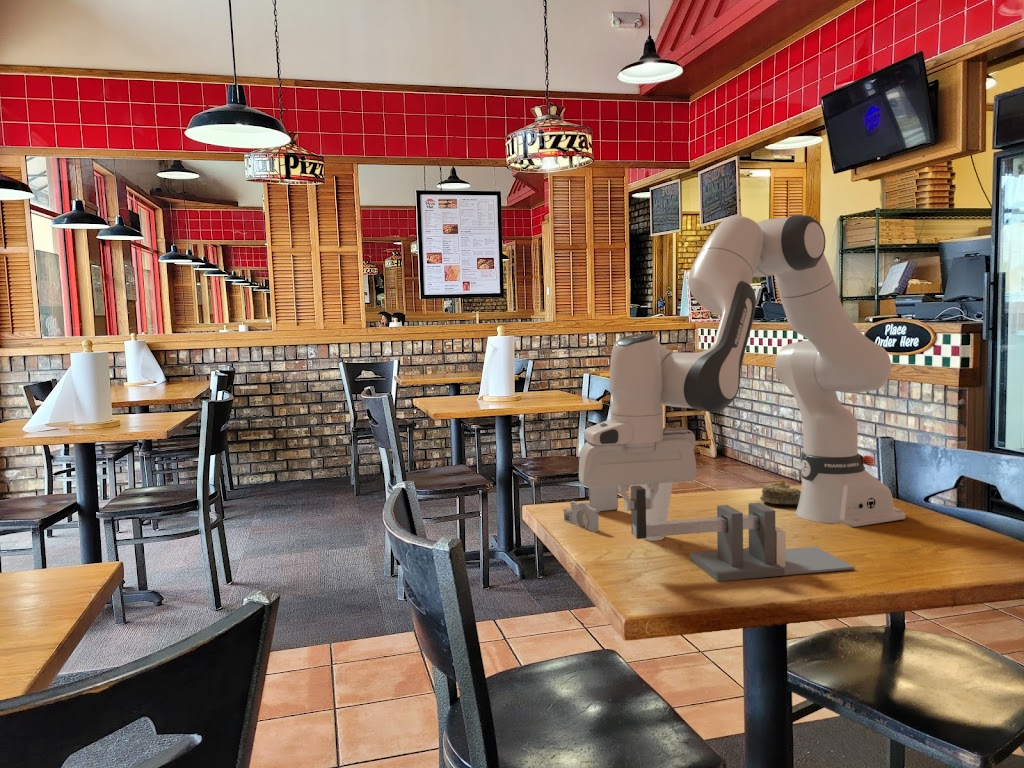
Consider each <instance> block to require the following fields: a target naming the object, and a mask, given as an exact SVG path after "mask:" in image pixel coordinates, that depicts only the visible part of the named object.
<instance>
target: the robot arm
mask: <svg viewBox="0 0 1024 768" xmlns="http://www.w3.org/2000/svg"><path fill="white" fill-rule="evenodd" d="M825 249H826V235H825V231H824V229H823V226H822V225H821V223H819V221H817V219H815V218H814V217H813V216H810V215H806V214H805V215H803V214H802V215H801V214H794V215H791V216H788V217H787V216H786V217H784V216H783V217H777V218H776V217H775V218H769V219H764V220H761V221H759V222H756V221H754V220H753V219H752V218H749V217H746V216H743V215H735V216H734V215H733V216H730V217H727V218H725V219H723V220H722V221H721V222H720V223H719V224H718V225H717V226H716V227H715V228H714V230H713V231H712V232H711V233H710V235H709V236H708V238H707V239H706V241H705V242H704V244H703V245H702V247H701V248H700V250H699V253H698V254H697V256H696V258H695V260H694V261H693V263H692V266H691V267H690V271H689V274H688V280H687V283H688V287H689V291H690V293H691V295H692V297H693V298H694V300H695V301H696V302H697V303H698V304H699V305H700V306H701V307H702V308H704V309H705V310H707V311H708V312H711V313H713V314H716V315H719V316H720V320H719V323H718V326H717V331H716V333H715V336H714V337H715V338H714V340H713V344H712V345H711V346H710V347H709V348H707V349H705V350H703V351H699V352H683V351H682V352H680V351H673V350H671V349H668V348H666V347H665V346H663V345H662V344H661V343H660V342H659V339H658V336H656V335H655V334H652V333H651V334H650V333H637V334H634V335H633V334H631V335H626V336H623V337H621V338H619V339H617V340H616V341H615V342H614V344H613V347H612V349H611V354H610V361H609V362H610V363H609V364H610V365H609V387H610V392H611V396H612V402H611V403H612V404H611V408H610V418H609V419H606V420H604V421H602V422H600V423H597V424H596V423H595V425H591V426H588V427H587V428H585V430H584V433H583V437H584V439H585V440H586V442H585V443H584V444H583V445H582V447H581V449H580V453H579V461H578V463H579V464H578V480H579V482H580V483H581V484H582V486H583V487H585V488H587V489H589V488H595V487H610V486H617V489H618V493H619V494H620V496H621V497H622V498H623V499H622V500H624V504H623V505H624V510H625V511H626V512H629V511H630V512H631V511H632V510H635V509H636V507H635V505H636V503H635V500H633V499H632V498H631V497H629V495H628V493H627V492H629V491H630V486H631V485H640V484H647V487H648V488H650V489H649V491H648V493H647V495H646V509H652V508H653V499H654V497H655V495H656V493H657V492H658V490H659V483H670V482H673V483H680V482H681V483H683V482H693V481H694V480H695V478H696V477H697V475H698V473H697V471H698V470H697V463H696V462H697V461H696V456H695V447H696V435H695V433H694V432H693V431H692V430H690V429H688V428H687V427H676V428H673V427H664V410H663V406H667V407H675V408H685V409H693V410H696V411H702V412H709V413H713V414H714V413H720V412H721V411H723V410H725V409H726V408H727V407H728V406H730V404H732V402H734V400H735V399H736V397H737V395H738V394H739V389H740V383H741V374H742V373H741V372H742V364H743V360H744V357H745V353H746V349H747V346H748V342H749V337H750V334H751V331H752V330H751V329H752V327H753V321H754V318H755V313H756V306H757V297H756V293H755V290H754V288H753V287H752V286H751V282H752V280H753V278H762V277H770V276H774V279H775V284H776V289H777V292H778V295H779V299H780V301H781V305H782V308H783V310H784V314H785V317H786V320H787V323H788V325H789V326H790V328H791V329H792V330H793V332H796V333H797V334H799V335H801V336H802V337H804V338H805V339H807V340H801V341H796V342H792V343H788V344H786V345H784V346H782V348H781V349H779V351H778V353H777V355H776V358H775V364H774V367H775V374H776V375H777V377H778V379H779V381H780V382H782V384H783V385H784V386H785V387H787V389H788V390H789V391H790V392H791V394H792V395H793V397H794V399H795V402H796V404H797V406H798V408H799V411H800V415H801V421H802V436H803V437H802V439H803V440H802V441H803V442H802V444H803V445H802V446H803V448H802V449H803V451H802V452H800V453H801V458H800V461H801V462H800V473H801V477H802V480H801V487H800V491H801V493H800V499H799V503H798V504H797V508H796V510H795V515H796V516H797V517H799V518H802V519H804V520H807V521H811V522H815V523H816V522H817V523H823V524H831V525H832V524H833V525H836V524H843V525H846V526H848V527H854V528H855V527H862V526H868V525H874V524H876V525H877V524H881V523H886V522H887V523H888V522H894V521H899V520H905V519H906V514H905V512H904V511H903V510H901V509H899V508H897V507H895V506H894V500H893V499H894V498H893V495H892V492H891V490H890V488H889V487H888V486H887V485H886V484H884V483H883V482H882V481H880V480H879V479H877V478H876V477H875V476H874V475H872V474H871V473H869V472H868V471H867V470H866V467H865V465H867V466H869V467H872V466H875V465H874V464H875V463H876V459H875V458H874V456H871V455H870V456H869V455H864V456H863V455H861V454H860V453H858V441H859V440H858V439H859V438H858V435H859V434H858V430H859V429H858V428H859V427H858V423H859V422H858V421H857V418H856V416H855V415H854V413H852V412H851V411H850V410H848V409H847V408H845V407H844V405H843V404H842V403H841V401H840V400H839V397H838V395H837V394H838V393H839V392H840V393H841V392H842V393H854V394H855V393H864V392H865V393H866V392H871V391H877V390H879V389H881V388H882V387H883V386H884V385H885V384H886V383H887V381H888V380H889V378H890V376H891V372H892V362H891V357H890V355H889V353H888V352H887V350H886V349H885V348H884V347H883V346H881V345H879V344H878V343H876V342H874V341H873V340H871V339H870V338H869V337H867V336H866V335H865V334H864V333H862V332H861V330H859V329H858V327H857V326H856V325H855V323H854V322H853V321H852V320H851V318H850V317H849V316H848V315H847V313H846V311H845V309H844V306H843V304H842V302H841V301H842V300H841V298H840V295H839V293H838V288H837V287H836V284H835V280H834V277H833V274H832V270H831V268H830V265H829V262H828V259H827V257H826V256H825ZM837 392H838V393H837Z"/></svg>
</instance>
